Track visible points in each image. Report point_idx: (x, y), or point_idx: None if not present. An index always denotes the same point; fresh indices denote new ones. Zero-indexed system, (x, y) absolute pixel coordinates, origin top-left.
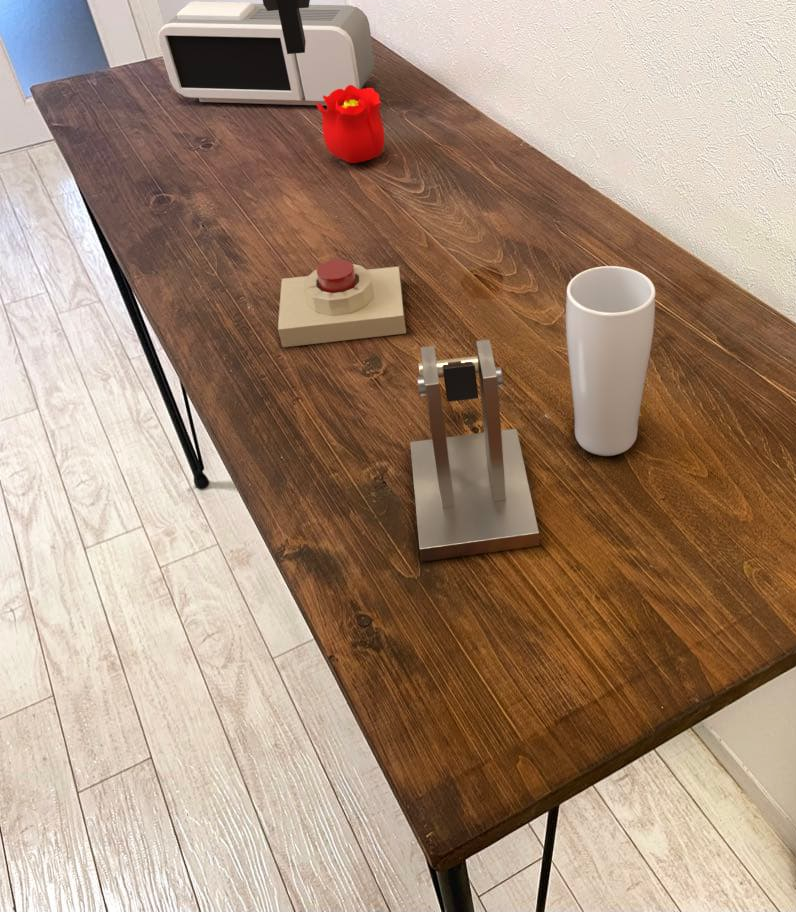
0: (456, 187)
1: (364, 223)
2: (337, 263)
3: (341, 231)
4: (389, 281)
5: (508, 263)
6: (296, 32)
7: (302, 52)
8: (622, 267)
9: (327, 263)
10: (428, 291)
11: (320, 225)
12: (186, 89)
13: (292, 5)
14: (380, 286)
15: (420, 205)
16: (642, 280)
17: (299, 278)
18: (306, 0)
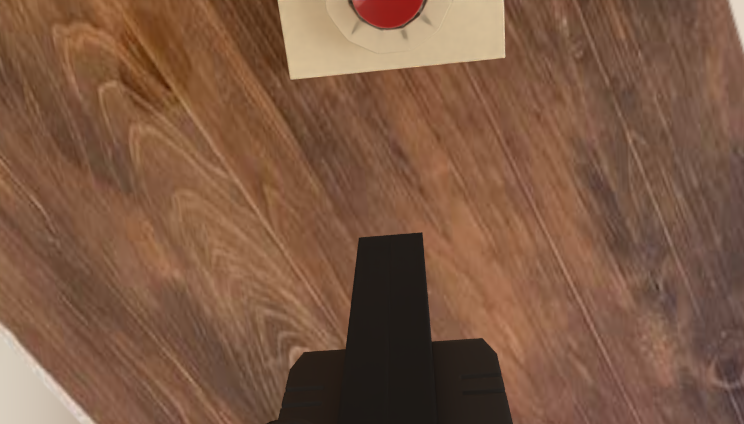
0: (235, 357)
1: None
2: (384, 10)
3: None
4: (301, 27)
5: (116, 120)
6: (371, 271)
7: (367, 237)
8: None
9: (405, 13)
10: (245, 44)
11: (454, 269)
12: None
13: (362, 334)
14: (316, 11)
15: (290, 311)
16: None
17: (471, 54)
18: (303, 371)
